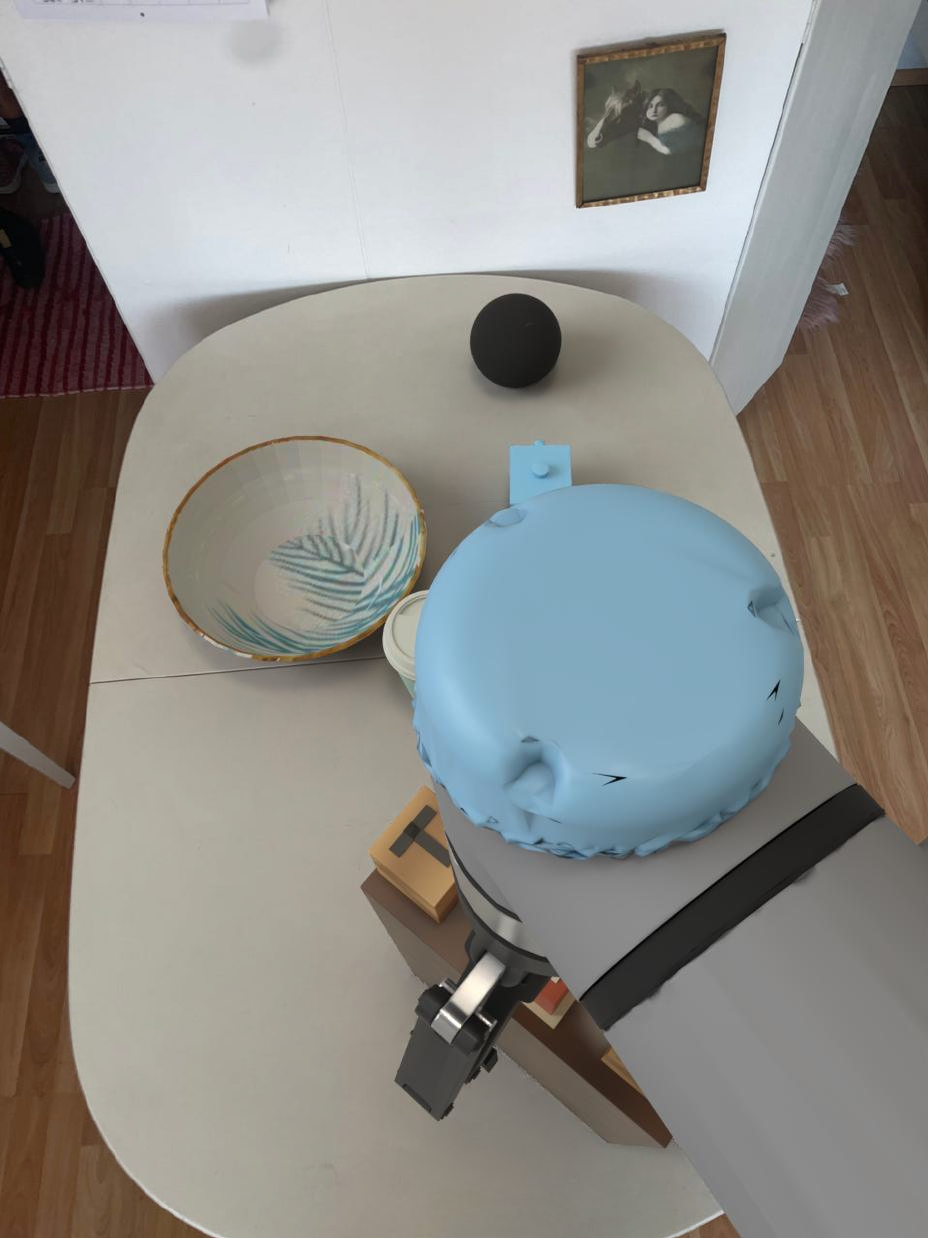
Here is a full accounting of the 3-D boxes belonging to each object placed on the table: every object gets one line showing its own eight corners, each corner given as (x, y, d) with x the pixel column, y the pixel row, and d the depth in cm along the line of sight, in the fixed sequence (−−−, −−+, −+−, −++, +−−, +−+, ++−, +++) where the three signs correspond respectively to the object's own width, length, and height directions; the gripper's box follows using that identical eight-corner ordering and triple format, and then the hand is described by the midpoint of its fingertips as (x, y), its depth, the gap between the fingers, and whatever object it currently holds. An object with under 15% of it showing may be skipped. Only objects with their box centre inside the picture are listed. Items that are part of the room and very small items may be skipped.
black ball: (453, 370, 112) (448, 305, 103) (519, 326, 115) (519, 258, 106) (511, 421, 109) (511, 358, 100) (578, 375, 111) (583, 309, 102)
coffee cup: (498, 663, 95) (496, 604, 84) (460, 740, 92) (454, 688, 81) (418, 632, 97) (407, 570, 86) (379, 705, 94) (362, 650, 83)
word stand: (659, 1066, 78) (764, 1018, 46) (607, 1143, 76) (679, 1151, 43) (464, 905, 85) (435, 763, 52) (411, 971, 82) (347, 866, 50)
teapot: (569, 567, 100) (573, 526, 93) (509, 567, 100) (509, 527, 93) (566, 470, 105) (570, 425, 99) (509, 470, 106) (509, 426, 99)
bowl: (401, 457, 107) (393, 409, 100) (460, 659, 95) (456, 621, 88) (172, 513, 105) (147, 468, 98) (204, 725, 93) (179, 692, 86)
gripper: (673, 532, 37) (617, 740, 56) (221, 1071, 29) (337, 1096, 48) (854, 644, 34) (730, 821, 54) (415, 1266, 26) (455, 1209, 46)
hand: (544, 951), depth 51 cm, fingers open, 11 cm apart
